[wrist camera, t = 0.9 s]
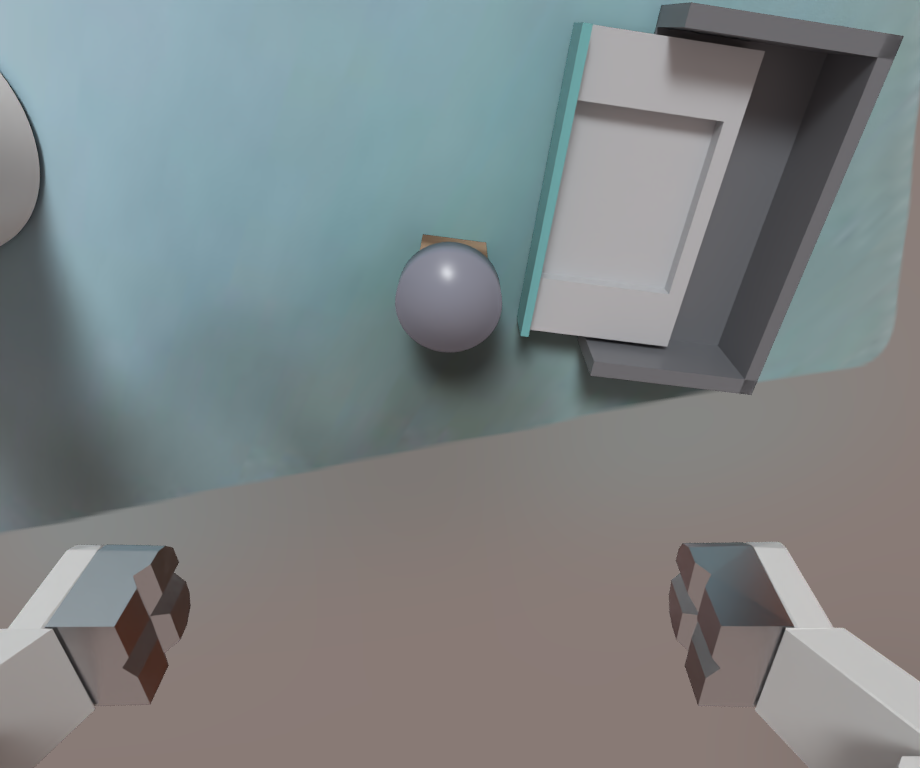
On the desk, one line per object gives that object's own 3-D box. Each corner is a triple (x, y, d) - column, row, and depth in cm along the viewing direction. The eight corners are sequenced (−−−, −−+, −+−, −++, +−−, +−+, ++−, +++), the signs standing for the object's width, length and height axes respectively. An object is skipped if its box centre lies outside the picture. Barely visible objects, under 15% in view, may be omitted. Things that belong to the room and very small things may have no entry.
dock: (577, 340, 43) (590, 375, 39) (661, 5, 33) (691, 2, 29) (722, 357, 44) (751, 394, 39) (847, 34, 34) (903, 36, 29)
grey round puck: (394, 331, 38) (391, 345, 37) (403, 235, 35) (399, 246, 34) (491, 343, 39) (492, 358, 37) (508, 249, 36) (510, 260, 34)
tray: (517, 316, 41) (520, 335, 39) (574, 22, 33) (583, 22, 31) (659, 334, 42) (672, 354, 40) (751, 50, 34) (774, 52, 31)
